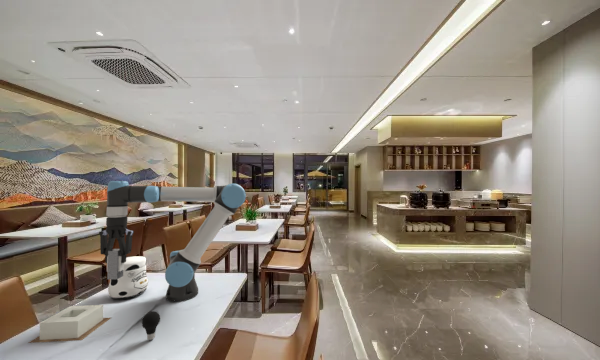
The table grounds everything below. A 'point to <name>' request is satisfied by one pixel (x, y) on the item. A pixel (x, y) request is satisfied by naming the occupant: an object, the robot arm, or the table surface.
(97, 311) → the well
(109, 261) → the brushed grey pillar
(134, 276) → the milk container
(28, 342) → the board
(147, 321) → the light bulb
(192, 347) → the table surface
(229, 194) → the robot arm
